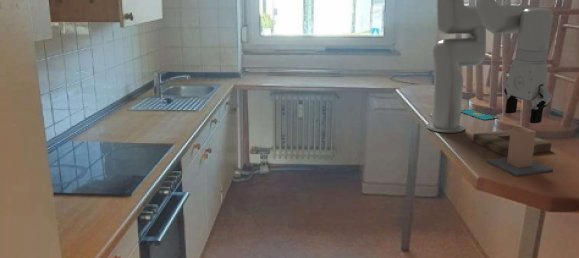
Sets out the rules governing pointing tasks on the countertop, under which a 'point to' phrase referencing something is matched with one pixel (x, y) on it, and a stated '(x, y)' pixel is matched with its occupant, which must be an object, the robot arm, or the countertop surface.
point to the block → (521, 147)
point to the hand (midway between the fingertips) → (522, 117)
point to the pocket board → (505, 142)
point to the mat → (520, 171)
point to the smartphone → (476, 114)
